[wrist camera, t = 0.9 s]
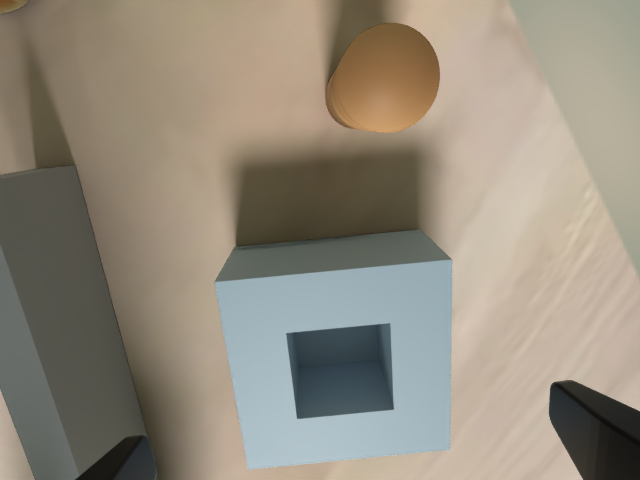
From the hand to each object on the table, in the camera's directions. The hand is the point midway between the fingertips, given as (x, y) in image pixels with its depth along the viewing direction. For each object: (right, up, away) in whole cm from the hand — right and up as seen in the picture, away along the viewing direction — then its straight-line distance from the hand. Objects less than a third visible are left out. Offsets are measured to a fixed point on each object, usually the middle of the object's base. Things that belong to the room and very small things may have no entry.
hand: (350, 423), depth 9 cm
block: (0, -1, +14) cm, 14 cm away
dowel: (+1, +11, +10) cm, 15 cm away
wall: (-13, -2, +14) cm, 19 cm away
